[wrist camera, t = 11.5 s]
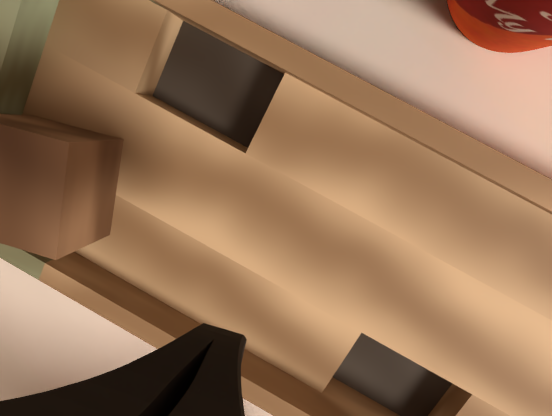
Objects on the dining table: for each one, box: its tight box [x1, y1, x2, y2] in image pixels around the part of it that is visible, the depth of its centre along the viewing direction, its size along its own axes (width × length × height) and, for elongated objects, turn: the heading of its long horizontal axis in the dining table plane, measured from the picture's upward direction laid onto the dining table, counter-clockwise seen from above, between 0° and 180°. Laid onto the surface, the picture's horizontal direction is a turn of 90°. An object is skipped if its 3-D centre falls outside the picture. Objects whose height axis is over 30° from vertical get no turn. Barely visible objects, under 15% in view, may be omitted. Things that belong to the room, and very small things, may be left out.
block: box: [0, 114, 124, 260], centre depth 18 cm, size 5×5×4 cm
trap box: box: [0, 0, 552, 416], centre depth 19 cm, size 15×33×4 cm, turn 62°
